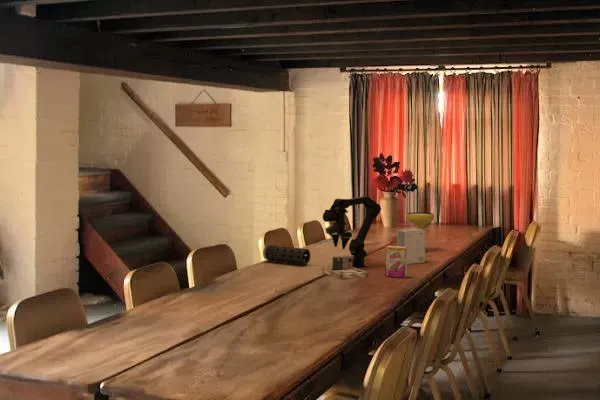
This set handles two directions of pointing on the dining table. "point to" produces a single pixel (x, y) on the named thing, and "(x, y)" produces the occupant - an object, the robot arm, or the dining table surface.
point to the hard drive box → (412, 244)
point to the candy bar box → (396, 261)
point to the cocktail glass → (420, 219)
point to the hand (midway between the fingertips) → (339, 247)
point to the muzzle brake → (286, 255)
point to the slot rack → (347, 275)
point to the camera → (342, 262)
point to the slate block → (349, 271)
